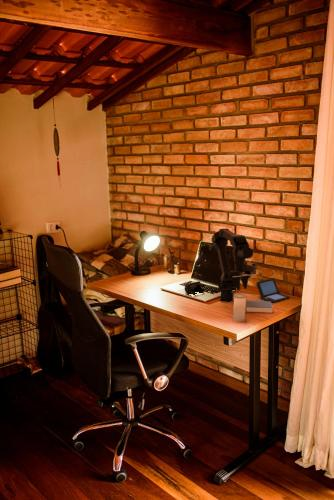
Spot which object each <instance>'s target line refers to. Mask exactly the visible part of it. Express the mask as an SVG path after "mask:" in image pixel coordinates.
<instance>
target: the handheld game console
mask: <svg viewBox="0 0 334 500" xmlns="http://www.w3.org/2000/svg"><path fill="white" fill-rule="evenodd" d="M256 287H257V290H258V293H259V296H260V301H271V304H276V303H280V302H282V300H284V301H286V300H285V299H287V300H289V299H288V298H290V299H291V296H290V295H286V294H282V293H281V292H280V290H279V288H278V286H277V282H276V280H275V279H274V278H271V279H270V278H269V279H266V280H259V281H257V282H256Z"/></svg>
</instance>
